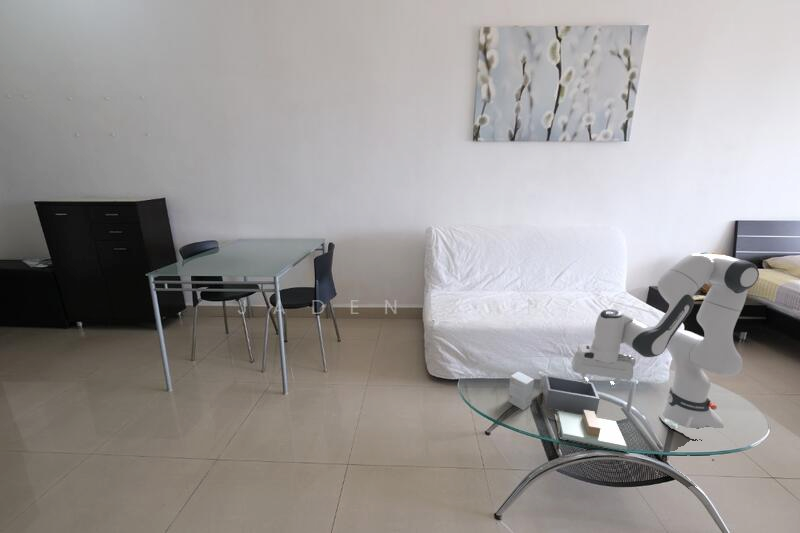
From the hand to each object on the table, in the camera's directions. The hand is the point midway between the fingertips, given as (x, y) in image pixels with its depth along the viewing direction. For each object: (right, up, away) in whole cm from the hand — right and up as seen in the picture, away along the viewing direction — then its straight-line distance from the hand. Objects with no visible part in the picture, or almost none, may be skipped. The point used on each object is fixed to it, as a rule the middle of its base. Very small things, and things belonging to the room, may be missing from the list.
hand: (598, 384), depth 135 cm
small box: (-23, -16, +23) cm, 36 cm away
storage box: (-1, -16, +23) cm, 28 cm away
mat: (-1, -21, +6) cm, 22 cm away
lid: (-1, -21, +6) cm, 21 cm away
